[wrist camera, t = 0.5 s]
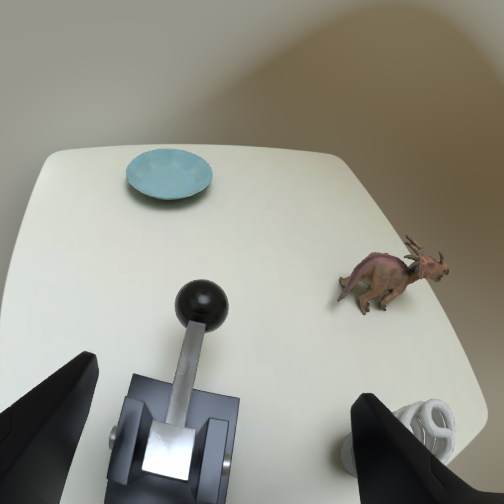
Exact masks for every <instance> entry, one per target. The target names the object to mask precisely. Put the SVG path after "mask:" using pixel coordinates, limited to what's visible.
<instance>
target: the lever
mask: <svg viewBox="0 0 504 504" xmlns="http://www.w3.org/2000/svg"><path fill="white" fill-rule="evenodd" d="M228 310H229V304H228V299H227V296H226V294H225V292H224V291H223V290H222V288H221V287H220V286H218V285H217V284H216V283H214V282H212V281H209V280H204V279H199V280H194V281H191V282H189V283H187V284H185V285H184V286H183V287H182V288H181V289H180V291H179V292H178V294H177V296H176V300H175V312H176V316H177V318H178V320H179V321H180V323H181V324H182V325H183V326H184V327H185V328H187V329H186V333H185V337H184V341H183V345H182V349H181V353H180V357H179V361H178V365H177V369H176V373H175V377H174V382H173V386H172V390H171V394H170V399H169V403H168V407H167V412H166V416H165V421H164V422H162V421H158V420H154V419H152V422H151V426H150V430H149V435H148V439H147V443H146V448H145V452H144V457H143V462H142V466H141V470H142V471H143V472H144V473H145V474H148V475H152V476H156V477H160V478H164V479H168V480H172V481H177V482H182V483H187V482H188V480H189V474H190V468H191V461H192V455H193V449H194V443H195V437H196V431H197V430H196V429H191V428H187V427H186V422H187V416H188V411H189V406H190V401H191V396H192V391H193V385H194V380H195V376H196V371H197V366H198V361H199V356H200V351H201V346H202V342H203V337H204V333H209V332H212V331H214V330H216V329H217V328H219V327H220V326H221V325H222V324H223V323H224V321H225V319H226V317H227V315H228Z"/></svg>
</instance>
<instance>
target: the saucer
mask: <svg viewBox="0 0 504 504" xmlns="http://www.w3.org/2000/svg"><path fill="white" fill-rule="evenodd" d="M212 175H213V174H212V169H211V167H210V166H209V164H208V163H207V162H206V161H205V160H204V159H202V158H201V157H199V156H198V155H195V154H193V153H190V152H187V151H184V150H178V149H157V150H152V151H148V152H145V153H143V154H141V155H139V156H137V157H136V158H134V159H133V160H132V161H131V162H130V164H129V165H128V167H127V169H126V176H127V180H128V181H129V183H130V184H131V185H132V186H133V187H134V188H135V189H136V190H138V191H140V192H141V193H143V194H145V195H148V196H150V197H153V198H157V199H164V200H175V199H182V198H186V197H189V196H192V195H194V194H196V193H198V192H200V191H202V190H204V189H205V188H206V187H207V186H208V185H209V184H210V182H211V180H212Z"/></svg>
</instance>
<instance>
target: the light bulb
mask: <svg viewBox="0 0 504 504" xmlns="http://www.w3.org/2000/svg"><path fill="white" fill-rule="evenodd" d="M392 413H393V414H394V415H395V416H396V417H397V418H398V419H399V420H400V421H401V422H402V423H403V424H404V425H405V427H406V428H407V429H408V430H409V426H411V427H412V430H413V432H414V436H415V437H416V438H417V439H418V440H419V441H420V442H421V443H422V444H424V432H423V428H424V430H425V447H426V448H427V449H428V450H429V451H430V452H431V453H432V454H433V455H434V456H435V457H436V458H438V459H439V460H440V461H441V462H442V463H443V464H444V465H445V464H446V463H447V461H448V459H449V458H450V456H451V454H452V451H453V448H454V438H455V421H454V417H453V414H452V412H451V410H450V408H449V407H448V405H447V404H446V403H444V402H443V401H441V400H438V399H431V400H428V401H427V402H417V403H414V404H412V405H408V406H404V407H402V408H400V409H399V410H398V411H395V412H392ZM440 413H441V414H442V416H443V418H444V421H445V424H446V428H445V425H444V421H443V418H442V416H441V414H440ZM418 418H419V419H418ZM419 420H420V421H421V422H420V421H419ZM421 423H422V425H421ZM435 438H436V440H435ZM434 442H435V445H434ZM443 445H444V446H443ZM433 447H434V448H433ZM432 450H433V451H432ZM341 462H342V464H343V467H344V469H345V470H346V471H347V472H348V473H349V474H350V475H352V476H354V477H356V478H357V472H356V466H355V459H354V453H353V445H352V432H351V433H350V434H349V435H348V436H347V437H346V438H345V441H344V443H343V445H342V448H341Z"/></svg>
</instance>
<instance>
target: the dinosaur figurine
mask: <svg viewBox="0 0 504 504" xmlns="http://www.w3.org/2000/svg"><path fill="white" fill-rule="evenodd" d="M406 238H407V239H408V240H409V241H410V242H411V243H409V242H405V244H407V245H408V246H409V247H410V248H411V249H412V250H413V251H414V252H415V253H416V254H417V255H406V256H404V258H408V259H412V260H415V262H413V263H412V264H411V265H410V266H409V267H407V265H406V264H405V263H404V262H403V261H401V260H400V259H399V258H397V257H395V256H391V255H389V254H388V253H384V254H382V253H376V252H374V253H371V254H370V255H369V256H368V257H366V258H365V259H364V260H363V261H362V262H361V263H359V264H358V265H357V266H356V268H354V270H353V272H352V274H351V276H349V277H347V278H345V279H343V278H342V277H340V281H341V284H342V286H344V287H345V288H344V289H343V291H342V293H341V295H340V296H339V298H338V299H337V301H338V302H339V301H340V300H341V299H343V298H344V297H345V296H346V295H347V294H348V293H349V292H350V291H351V289H352V288H353V287H354V286H355V284H356V283H357V282H359V281H362V282H363V283H365V284H367V285H369V287H368V288H367V289H366V291H365V292H364V293H362V294H360V296H359V299H360V307H361V310H362V313H363V314H364V315H365V314H366V311H367V312H369V311H370V310H369V308H368V307H369V306H370V304H369V303H367V301H368V300H370V299H372V298H375V297H377V296H379V295H381V294H383V292H384V291H385V290H387V291H389V293H387V294H386V295H384V296H383V297H382V298H381V301H380V308H381V309H383V310H384V311H386V309H385V307H386V304H387V303H388V302H389V301H391V300H392V299H394V298H395V297H396V296H397V295H399V294H401V293H403V291H405V289H406V287H407V285H409V284H411V283H413V282H415V281H417V280H419V279H422V278H426V279H429V278H430V279H432V280H433V281H435V282H439V281H440V280H441V279H440V278H441V277H443V276H442V275H445V274H446V275H448V273H449V269H448V266H447V265H446V264H445V263H444V257H443V255H442V253H441V252H439V255H440V259H441V260H440V262H436V261H435V259H434V258H432V257H426V256H424V255H423V253H422V252H423V251H422V249H423V247H421V246H420V245H419V244H418V243H417V242H416V241H415V240H414V239H412V238H411V237H409V236H407V235H406Z"/></svg>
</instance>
